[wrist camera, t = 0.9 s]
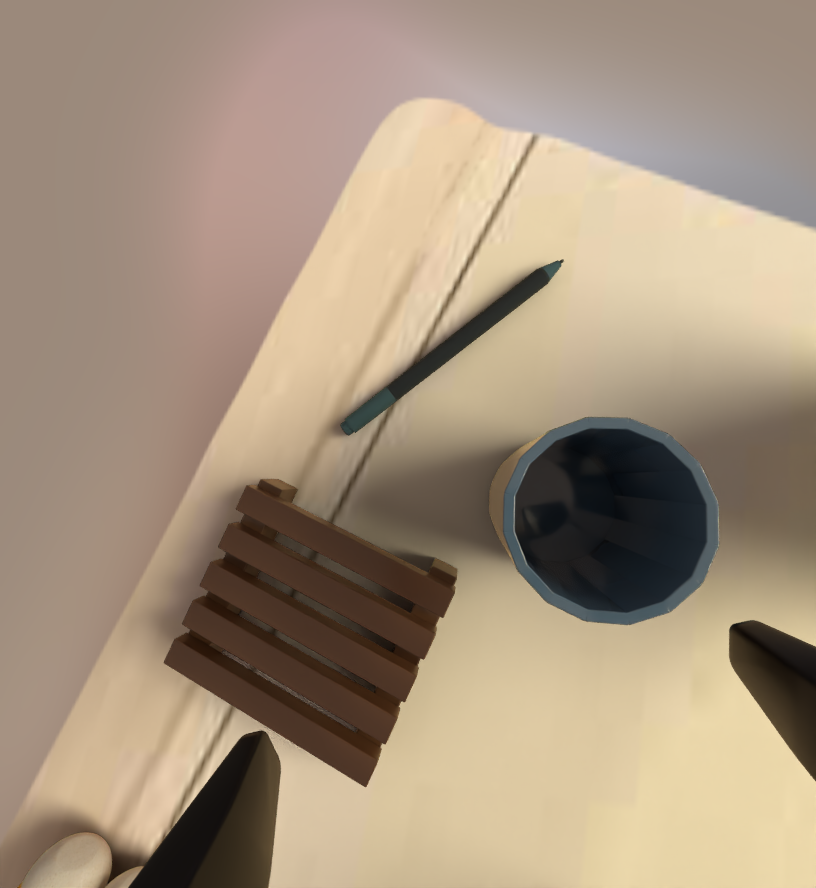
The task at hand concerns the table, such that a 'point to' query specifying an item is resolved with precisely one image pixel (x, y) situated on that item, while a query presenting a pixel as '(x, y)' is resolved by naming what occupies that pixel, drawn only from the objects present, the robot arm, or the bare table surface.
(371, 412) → the pen
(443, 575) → the rack
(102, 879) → the colorful feather toy
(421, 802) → the table surface
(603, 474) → the cup
